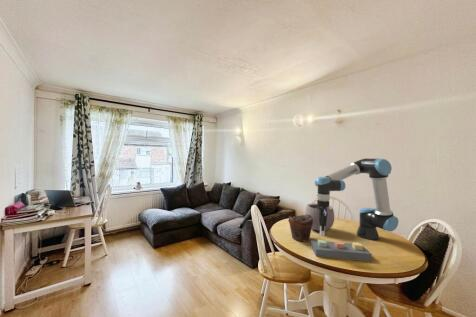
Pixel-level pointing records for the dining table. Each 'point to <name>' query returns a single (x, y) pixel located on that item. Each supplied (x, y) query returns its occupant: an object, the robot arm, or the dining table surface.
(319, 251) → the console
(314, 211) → the plant pot
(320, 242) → the sage button
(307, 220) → the brown tapered container
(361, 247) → the ochre button
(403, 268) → the dining table surface
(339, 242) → the terracotta button
